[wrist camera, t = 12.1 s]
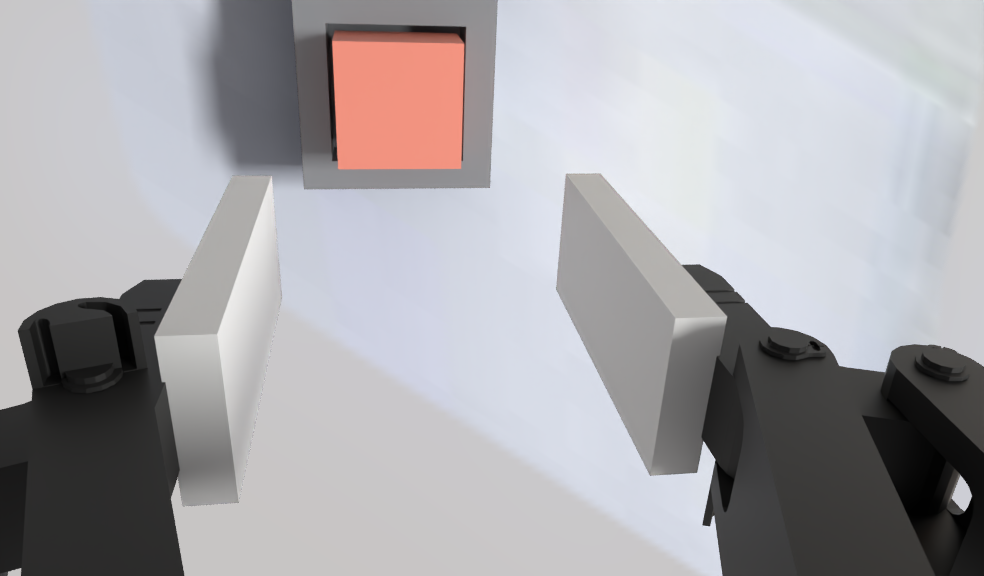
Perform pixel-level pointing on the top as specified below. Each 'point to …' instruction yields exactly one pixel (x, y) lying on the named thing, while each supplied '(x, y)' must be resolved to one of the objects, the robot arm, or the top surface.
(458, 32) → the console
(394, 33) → the button
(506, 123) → the top surface
